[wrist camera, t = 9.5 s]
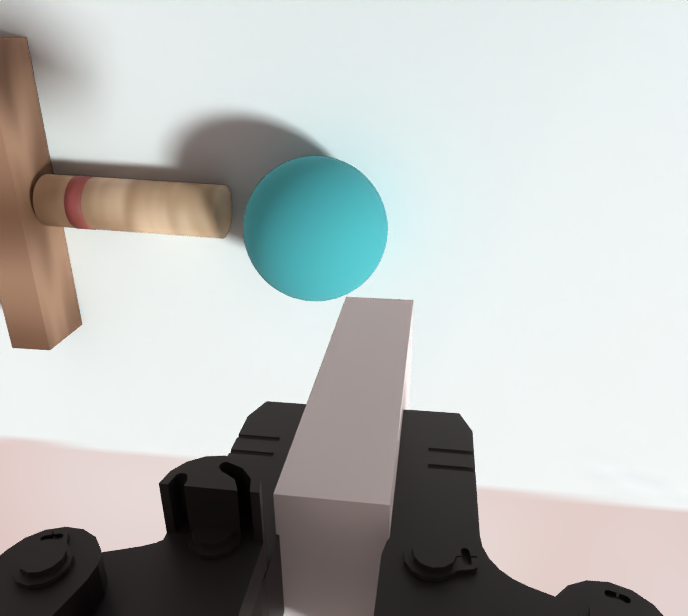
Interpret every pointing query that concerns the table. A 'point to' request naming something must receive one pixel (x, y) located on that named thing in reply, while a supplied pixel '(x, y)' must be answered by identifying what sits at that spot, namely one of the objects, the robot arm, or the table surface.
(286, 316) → the table surface
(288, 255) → the ball
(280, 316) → the table surface
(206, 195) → the pin
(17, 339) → the back wall
